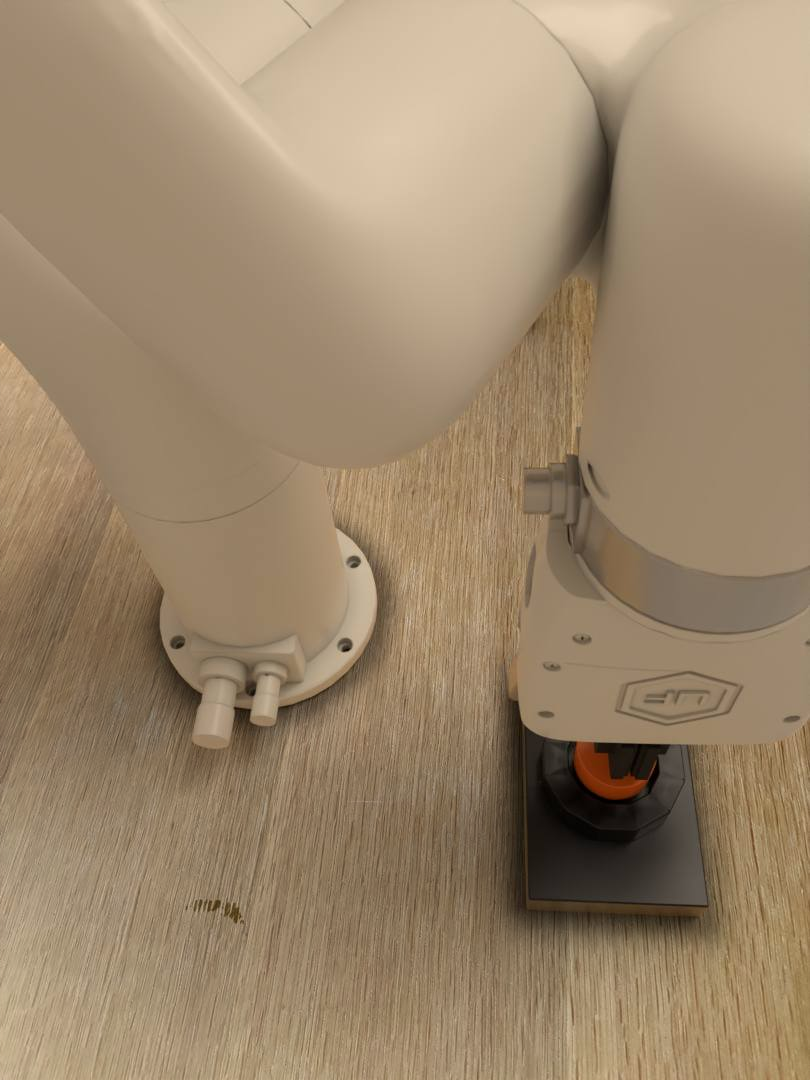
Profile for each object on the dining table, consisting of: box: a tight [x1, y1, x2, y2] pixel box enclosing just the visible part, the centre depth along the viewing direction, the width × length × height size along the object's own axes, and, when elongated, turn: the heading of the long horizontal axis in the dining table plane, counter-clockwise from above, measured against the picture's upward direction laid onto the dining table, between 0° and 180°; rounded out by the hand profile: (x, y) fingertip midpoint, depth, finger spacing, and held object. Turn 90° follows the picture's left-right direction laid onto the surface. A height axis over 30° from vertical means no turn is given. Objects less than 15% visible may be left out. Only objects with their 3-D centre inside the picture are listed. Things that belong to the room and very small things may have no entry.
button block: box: [521, 721, 710, 918], centre depth 43 cm, size 12×8×4 cm, turn 177°
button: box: [574, 741, 656, 800], centre depth 41 cm, size 4×4×2 cm
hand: (625, 747), depth 40 cm, fingers closed
